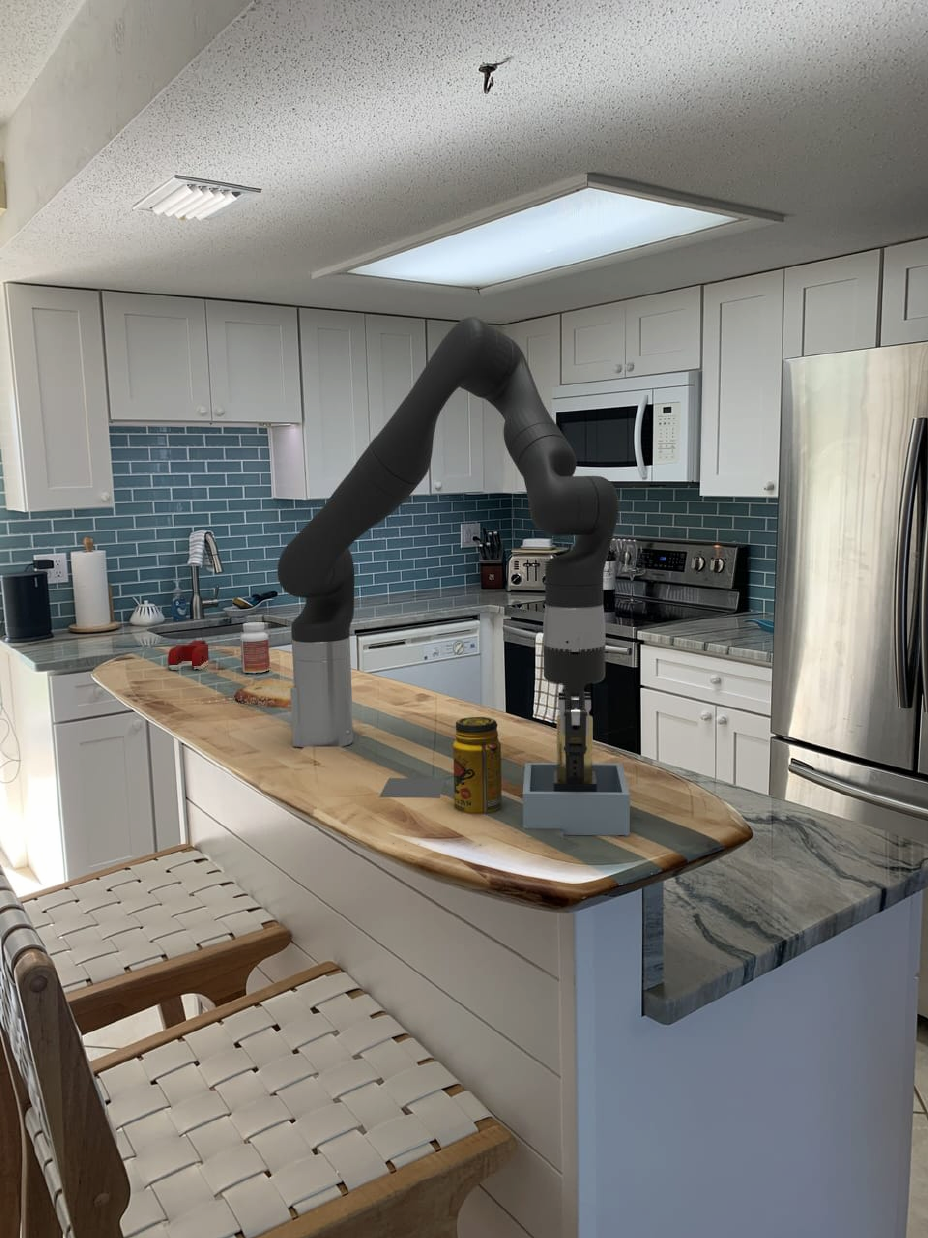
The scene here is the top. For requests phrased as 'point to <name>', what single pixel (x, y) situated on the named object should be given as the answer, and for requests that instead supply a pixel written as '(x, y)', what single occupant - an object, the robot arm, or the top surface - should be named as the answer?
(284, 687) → the bread slice
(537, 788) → the bin
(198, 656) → the red arch block
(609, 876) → the top surface
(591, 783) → the gold cylindrical piece
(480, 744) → the condiment
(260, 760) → the top surface
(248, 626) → the pill bottle
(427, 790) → the stud plate
